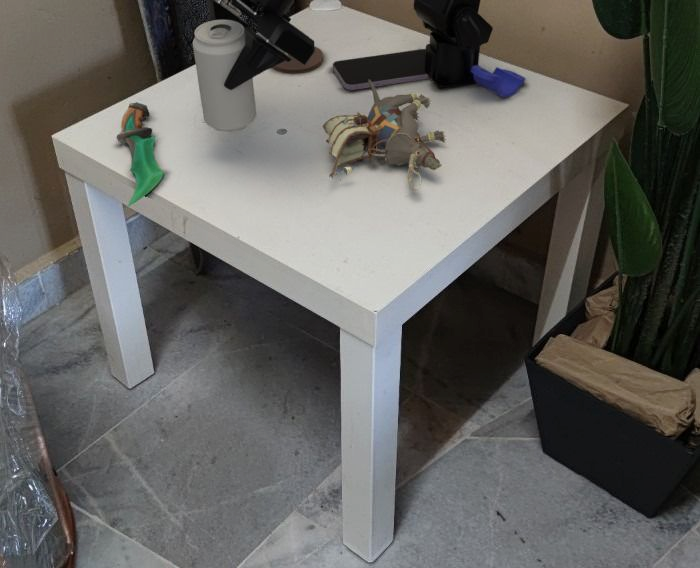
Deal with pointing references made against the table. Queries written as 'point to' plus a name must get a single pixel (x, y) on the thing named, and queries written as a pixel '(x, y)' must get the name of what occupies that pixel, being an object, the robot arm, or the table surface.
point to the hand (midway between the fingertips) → (213, 75)
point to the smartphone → (381, 69)
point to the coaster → (297, 66)
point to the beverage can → (222, 76)
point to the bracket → (498, 80)
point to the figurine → (384, 135)
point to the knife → (140, 150)
